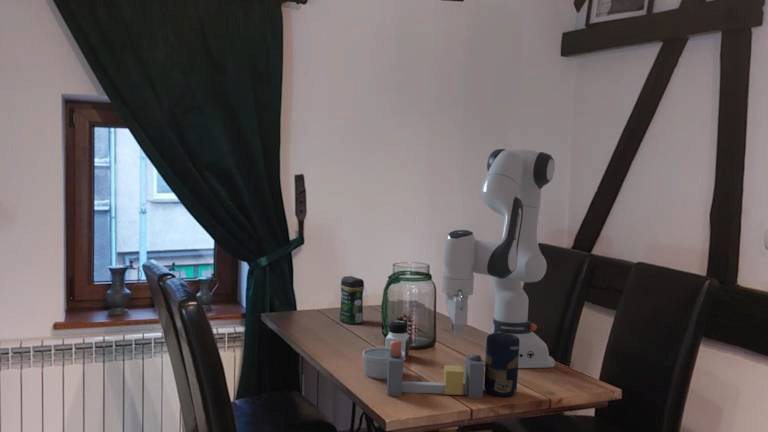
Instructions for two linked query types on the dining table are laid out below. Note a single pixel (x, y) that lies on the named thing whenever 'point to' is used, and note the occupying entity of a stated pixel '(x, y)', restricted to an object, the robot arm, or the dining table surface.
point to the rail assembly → (470, 387)
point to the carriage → (453, 380)
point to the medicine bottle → (398, 336)
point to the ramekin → (377, 362)
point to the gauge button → (395, 348)
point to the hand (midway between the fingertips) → (455, 334)
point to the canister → (501, 364)
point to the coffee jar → (351, 300)
